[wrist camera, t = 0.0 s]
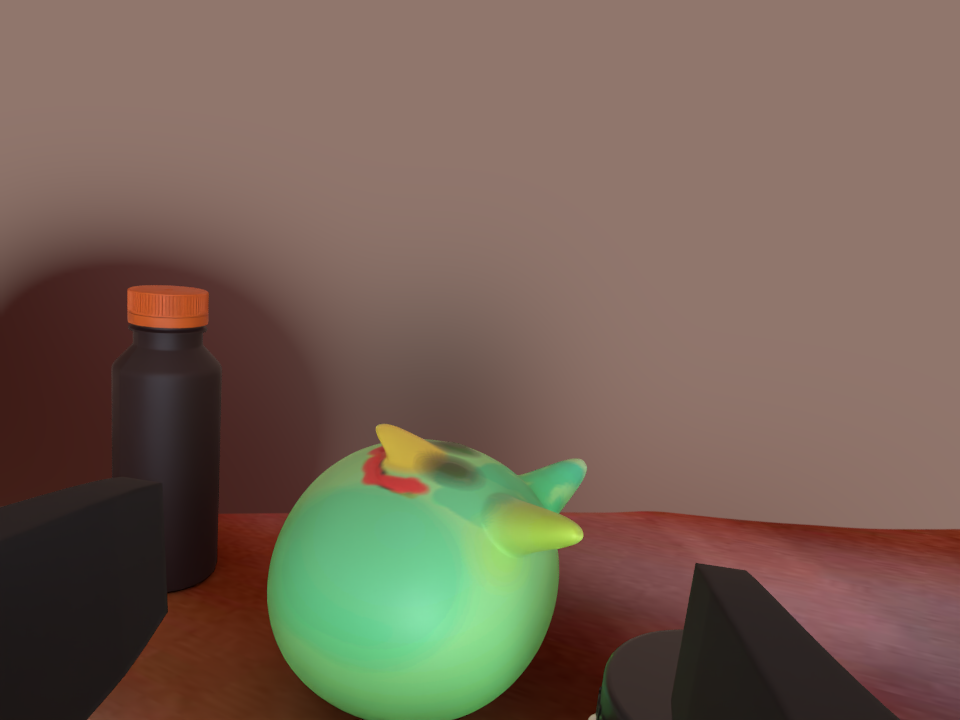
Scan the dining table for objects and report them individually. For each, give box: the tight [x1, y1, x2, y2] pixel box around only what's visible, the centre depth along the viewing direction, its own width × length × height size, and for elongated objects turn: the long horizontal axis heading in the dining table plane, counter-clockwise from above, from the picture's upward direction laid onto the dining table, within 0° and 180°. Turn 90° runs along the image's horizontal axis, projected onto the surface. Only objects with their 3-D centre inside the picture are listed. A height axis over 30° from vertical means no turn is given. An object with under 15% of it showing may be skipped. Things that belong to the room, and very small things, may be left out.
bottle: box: [112, 285, 222, 592], centre depth 50 cm, size 7×7×20 cm
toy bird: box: [267, 424, 587, 720], centre depth 41 cm, size 18×17×15 cm
